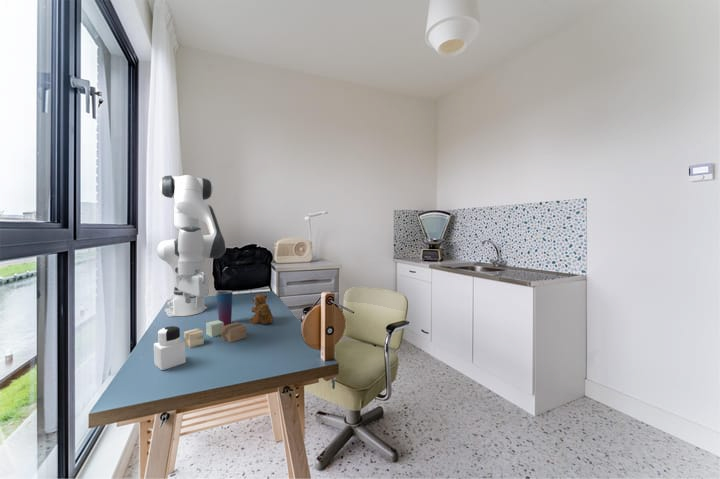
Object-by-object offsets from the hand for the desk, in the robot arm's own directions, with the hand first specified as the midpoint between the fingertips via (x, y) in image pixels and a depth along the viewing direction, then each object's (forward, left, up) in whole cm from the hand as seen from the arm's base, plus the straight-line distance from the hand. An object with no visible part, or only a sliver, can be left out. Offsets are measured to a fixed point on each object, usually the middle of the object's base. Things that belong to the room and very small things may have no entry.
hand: (193, 304), depth 113 cm
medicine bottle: (+11, -12, -16) cm, 22 cm away
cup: (-13, +19, -16) cm, 28 cm away
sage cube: (-4, +10, -16) cm, 19 cm away
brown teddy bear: (-1, +31, -16) cm, 35 cm away
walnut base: (+6, +13, -16) cm, 21 cm away
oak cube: (0, 0, -16) cm, 16 cm away
